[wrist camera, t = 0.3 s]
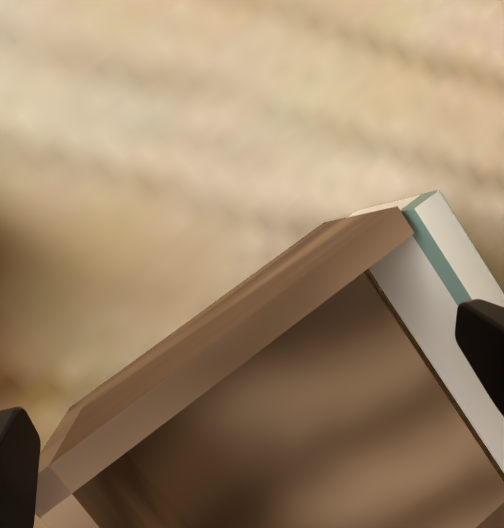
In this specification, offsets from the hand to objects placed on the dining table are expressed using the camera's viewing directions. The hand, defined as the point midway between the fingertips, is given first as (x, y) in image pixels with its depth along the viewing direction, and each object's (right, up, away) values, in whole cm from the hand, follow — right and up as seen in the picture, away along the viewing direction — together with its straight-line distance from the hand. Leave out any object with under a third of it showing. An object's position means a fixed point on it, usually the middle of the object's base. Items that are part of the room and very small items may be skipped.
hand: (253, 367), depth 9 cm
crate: (+3, -8, +15) cm, 18 cm away
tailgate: (+10, -3, +16) cm, 19 cm away
